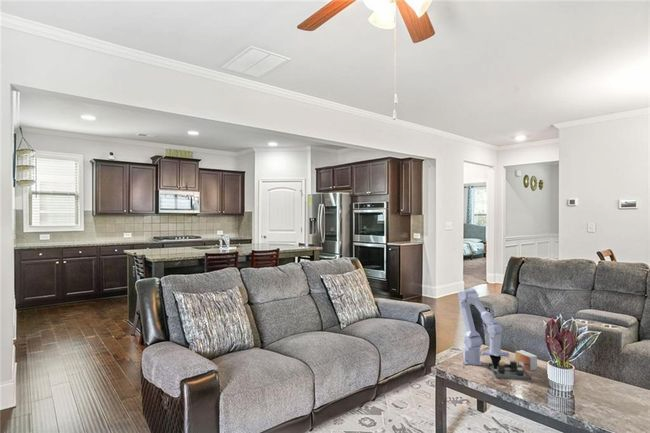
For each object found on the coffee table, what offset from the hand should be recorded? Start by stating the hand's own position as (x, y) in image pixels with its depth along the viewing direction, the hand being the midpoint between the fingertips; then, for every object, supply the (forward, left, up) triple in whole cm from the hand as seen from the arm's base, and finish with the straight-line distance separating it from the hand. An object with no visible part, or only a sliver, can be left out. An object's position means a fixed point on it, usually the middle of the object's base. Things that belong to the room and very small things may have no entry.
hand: (495, 368), depth 213 cm
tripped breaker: (+3, 0, -1) cm, 3 cm away
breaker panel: (+7, 0, -2) cm, 8 cm away
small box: (+17, +15, +2) cm, 23 cm away
